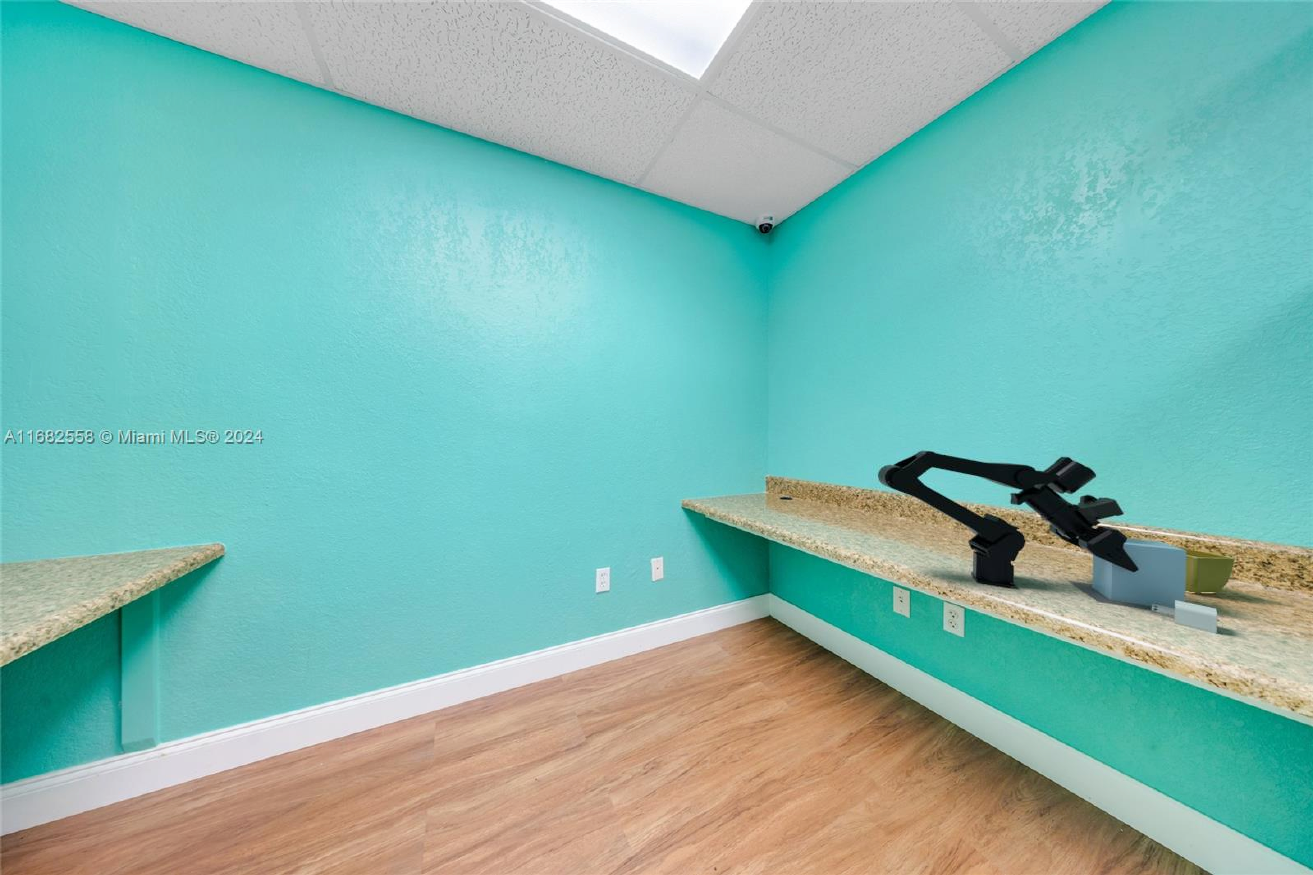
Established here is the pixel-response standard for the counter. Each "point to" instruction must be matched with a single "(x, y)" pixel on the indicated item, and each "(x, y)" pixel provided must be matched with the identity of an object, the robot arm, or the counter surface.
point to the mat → (1103, 599)
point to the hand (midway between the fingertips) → (1122, 564)
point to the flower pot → (1206, 571)
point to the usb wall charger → (1192, 615)
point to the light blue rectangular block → (1144, 575)
